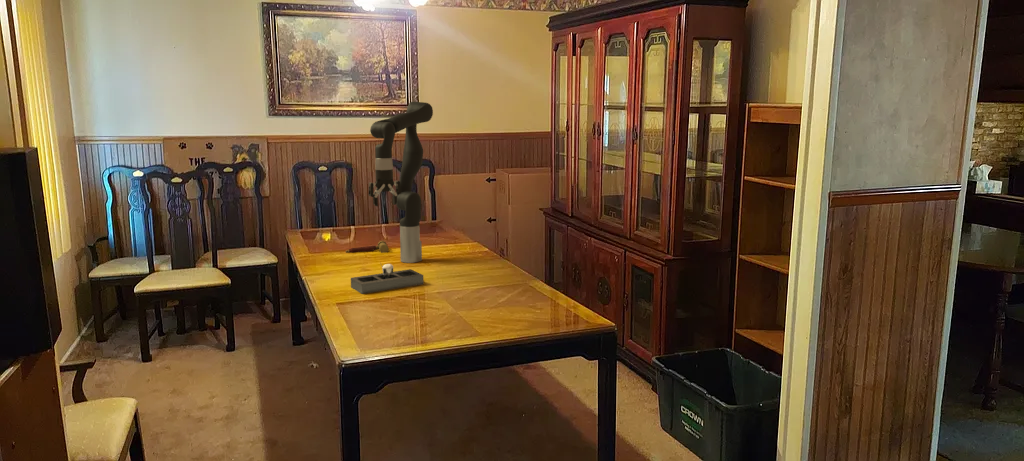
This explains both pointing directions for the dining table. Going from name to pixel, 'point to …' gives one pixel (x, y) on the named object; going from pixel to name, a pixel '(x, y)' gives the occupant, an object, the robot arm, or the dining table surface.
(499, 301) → the dining table surface
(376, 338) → the dining table surface
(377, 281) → the three-window grey frame
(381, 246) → the gavel
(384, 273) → the milkshake
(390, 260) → the dining table surface
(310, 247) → the dining table surface
